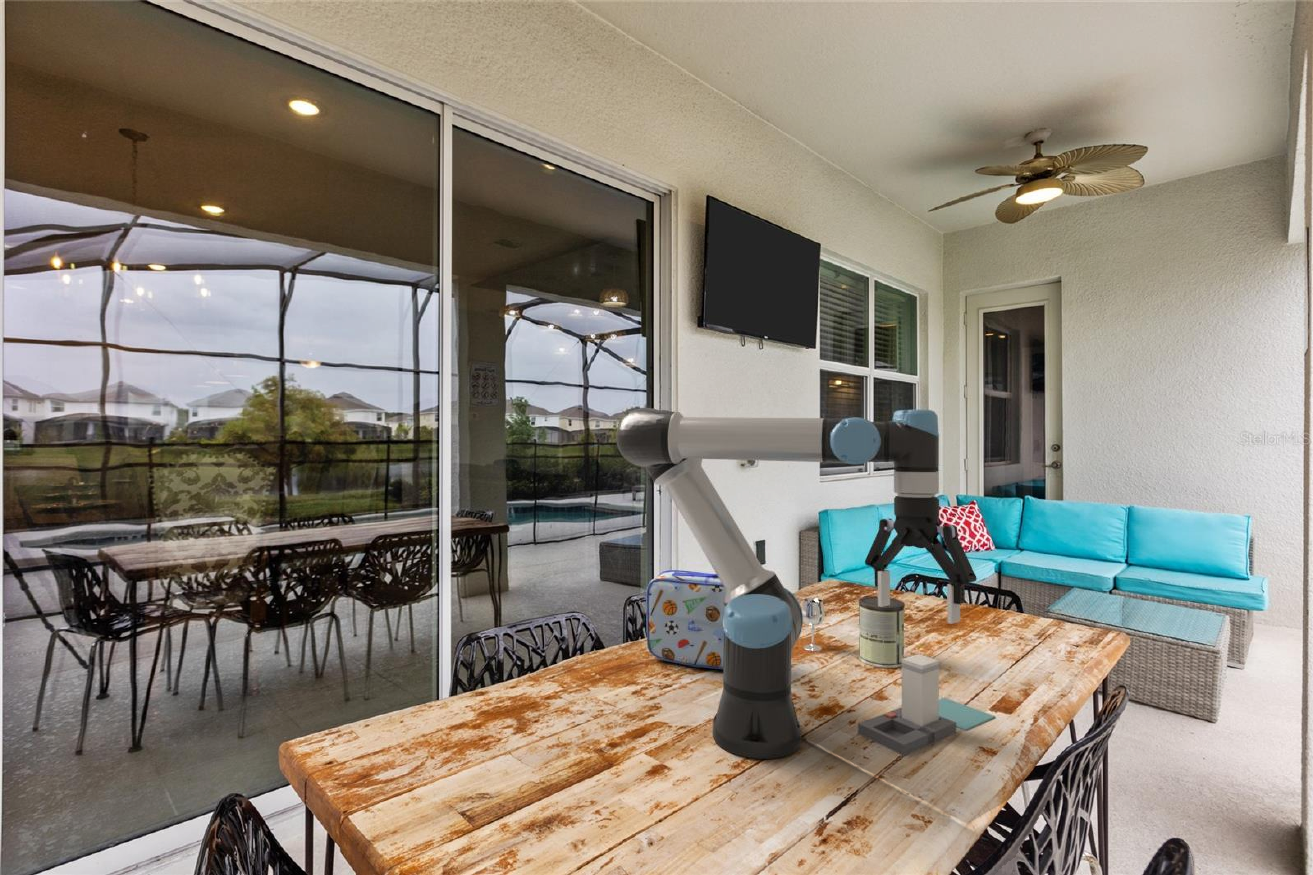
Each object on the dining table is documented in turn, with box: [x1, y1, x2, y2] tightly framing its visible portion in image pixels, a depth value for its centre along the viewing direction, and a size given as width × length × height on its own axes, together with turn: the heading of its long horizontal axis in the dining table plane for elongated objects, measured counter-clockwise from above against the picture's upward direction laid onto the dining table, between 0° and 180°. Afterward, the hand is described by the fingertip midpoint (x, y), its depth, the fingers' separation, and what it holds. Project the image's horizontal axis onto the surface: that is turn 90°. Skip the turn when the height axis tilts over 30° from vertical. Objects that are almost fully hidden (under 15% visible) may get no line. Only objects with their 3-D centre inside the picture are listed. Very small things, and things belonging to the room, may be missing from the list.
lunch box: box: [645, 569, 726, 670], centre depth 143 cm, size 28×10×22 cm, turn 71°
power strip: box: [857, 707, 957, 756], centre depth 107 cm, size 15×9×3 cm, turn 123°
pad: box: [939, 697, 996, 732], centre depth 115 cm, size 10×10×1 cm
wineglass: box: [801, 597, 826, 652], centre depth 154 cm, size 6×6×12 cm
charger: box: [900, 654, 940, 727], centre depth 109 cm, size 5×4×12 cm
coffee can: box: [858, 596, 906, 669], centre depth 145 cm, size 10×10×14 cm
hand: (917, 613), depth 110 cm, fingers open, 13 cm apart
